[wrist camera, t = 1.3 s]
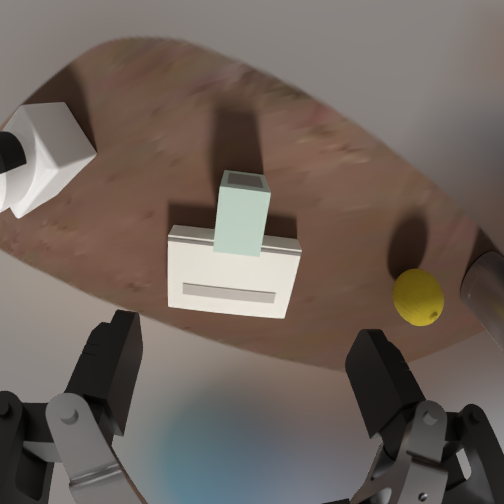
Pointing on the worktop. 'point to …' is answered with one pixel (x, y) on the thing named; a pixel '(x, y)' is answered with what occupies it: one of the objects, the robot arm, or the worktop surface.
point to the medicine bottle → (40, 155)
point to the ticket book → (230, 274)
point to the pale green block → (241, 213)
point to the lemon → (418, 297)
